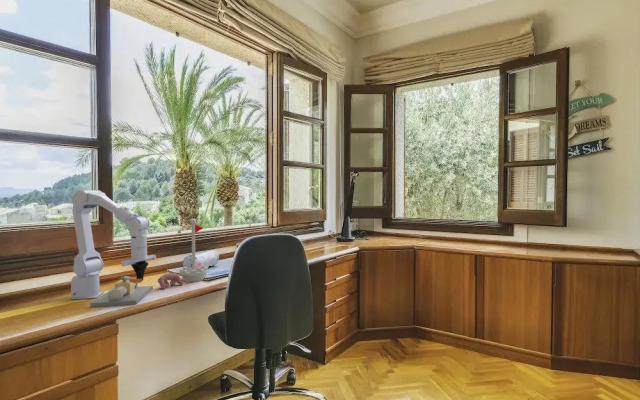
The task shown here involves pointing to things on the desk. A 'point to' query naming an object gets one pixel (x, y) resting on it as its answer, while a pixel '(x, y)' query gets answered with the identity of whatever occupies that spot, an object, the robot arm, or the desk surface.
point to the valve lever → (132, 279)
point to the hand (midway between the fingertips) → (140, 280)
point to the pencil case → (202, 259)
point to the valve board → (122, 294)
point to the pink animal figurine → (170, 276)
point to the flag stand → (194, 272)
